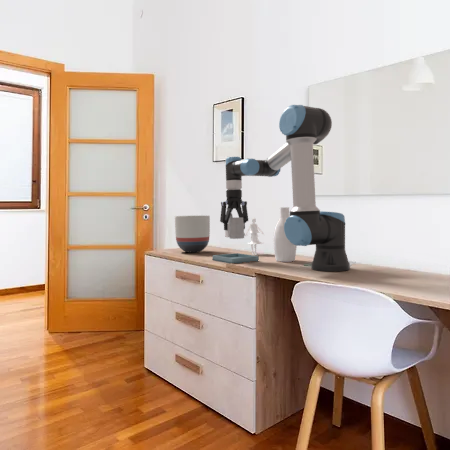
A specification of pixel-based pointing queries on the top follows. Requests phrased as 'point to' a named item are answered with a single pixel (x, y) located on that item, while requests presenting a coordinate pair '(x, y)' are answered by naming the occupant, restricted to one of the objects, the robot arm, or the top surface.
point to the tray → (235, 258)
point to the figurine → (254, 235)
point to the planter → (192, 232)
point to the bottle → (283, 239)
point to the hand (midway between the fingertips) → (234, 236)
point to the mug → (236, 227)
